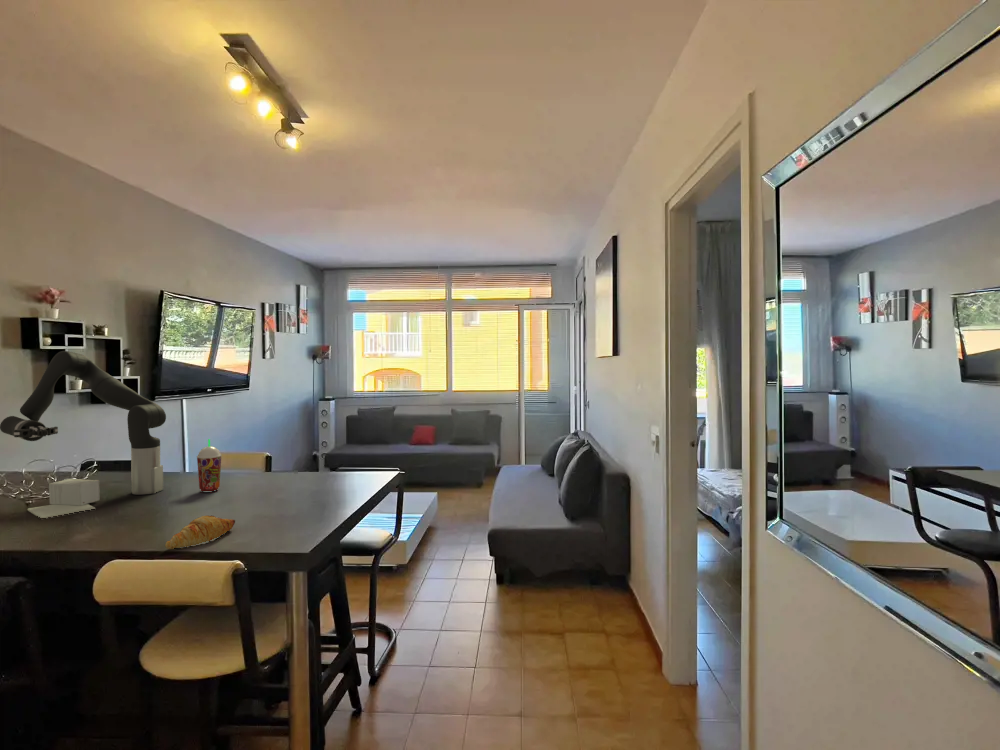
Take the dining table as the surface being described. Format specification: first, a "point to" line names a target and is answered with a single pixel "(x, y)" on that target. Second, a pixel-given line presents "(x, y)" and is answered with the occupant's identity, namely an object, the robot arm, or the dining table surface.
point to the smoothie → (209, 468)
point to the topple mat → (58, 510)
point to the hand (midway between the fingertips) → (43, 433)
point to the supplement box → (74, 492)
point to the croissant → (200, 531)
